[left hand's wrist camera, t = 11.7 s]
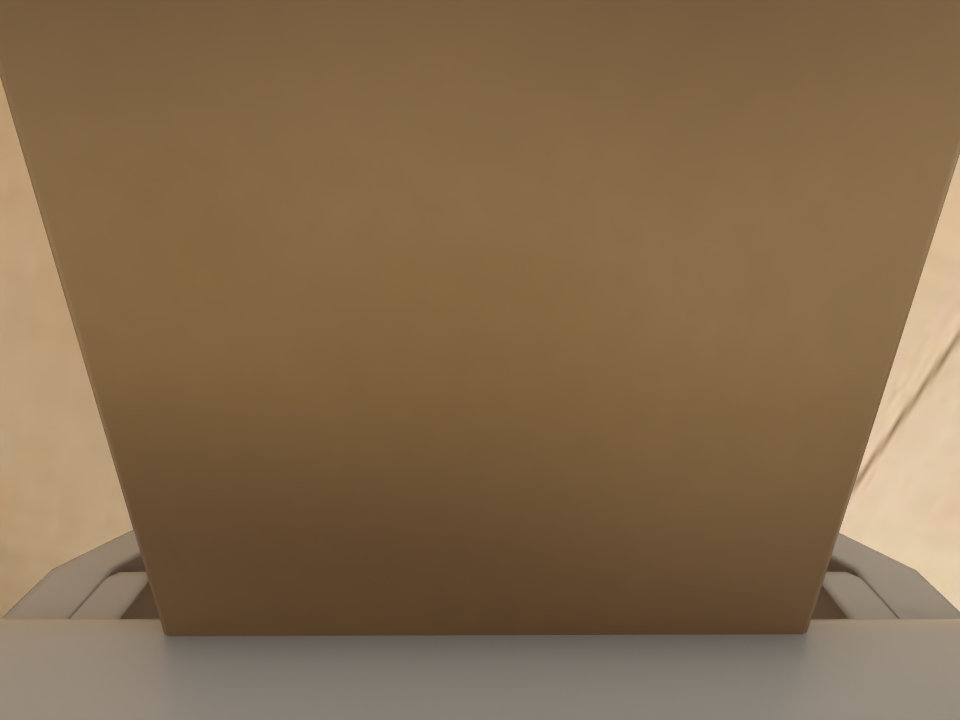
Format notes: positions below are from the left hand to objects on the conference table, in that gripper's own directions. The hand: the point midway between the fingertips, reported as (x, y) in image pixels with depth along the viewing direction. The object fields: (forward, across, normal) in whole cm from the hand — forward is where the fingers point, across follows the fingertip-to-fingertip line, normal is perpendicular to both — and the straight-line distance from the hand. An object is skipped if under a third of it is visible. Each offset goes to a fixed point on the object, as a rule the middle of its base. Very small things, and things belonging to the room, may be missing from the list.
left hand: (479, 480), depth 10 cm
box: (+5, 0, -7) cm, 8 cm away
